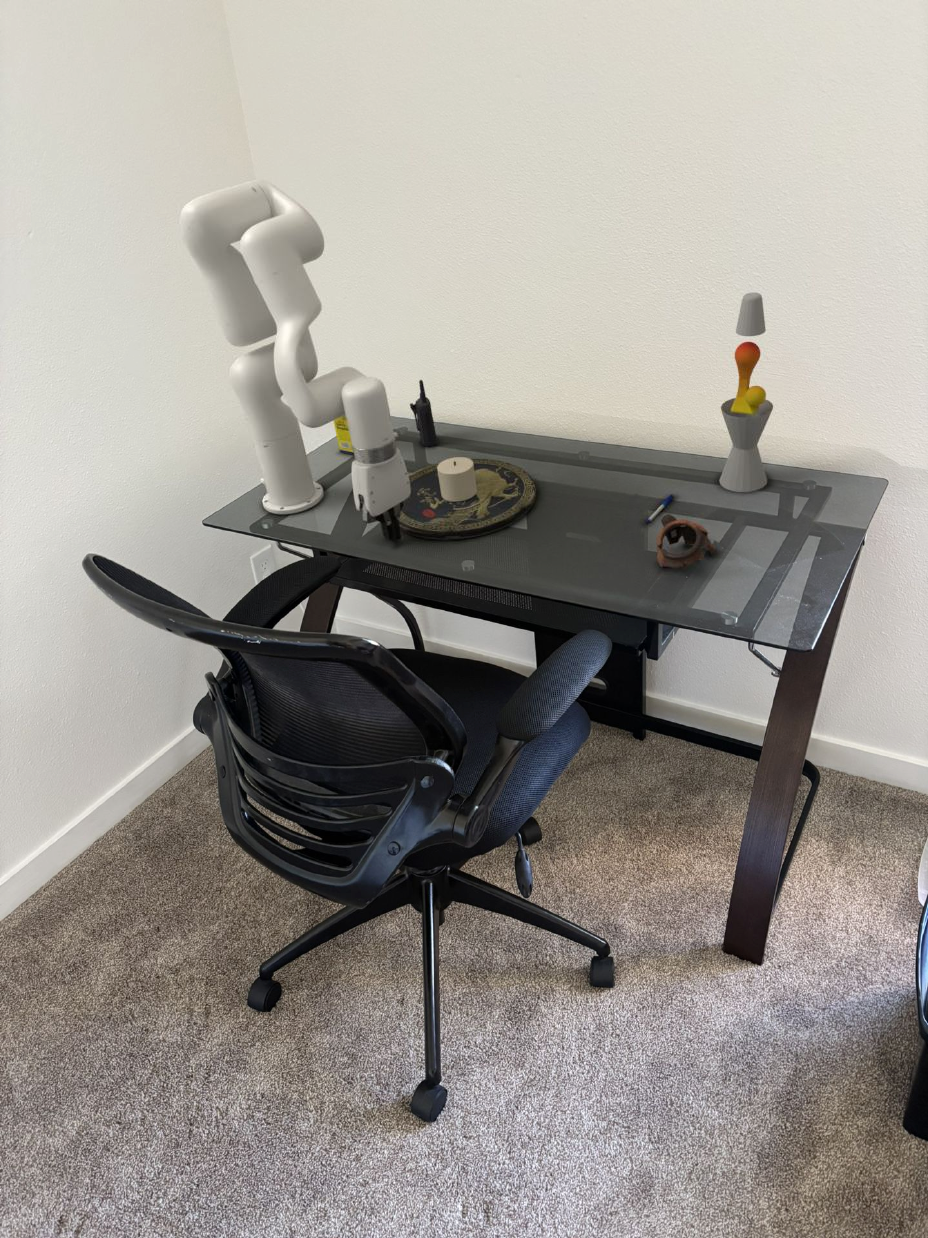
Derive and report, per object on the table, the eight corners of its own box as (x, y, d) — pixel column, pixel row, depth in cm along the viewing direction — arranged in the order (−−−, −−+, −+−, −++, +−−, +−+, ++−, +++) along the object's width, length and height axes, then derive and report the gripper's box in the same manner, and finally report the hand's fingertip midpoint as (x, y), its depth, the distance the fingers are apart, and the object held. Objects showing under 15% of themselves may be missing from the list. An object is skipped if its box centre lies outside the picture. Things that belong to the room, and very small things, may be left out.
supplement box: (360, 456, 207) (350, 410, 201) (339, 452, 210) (329, 407, 204) (376, 445, 211) (367, 399, 205) (356, 441, 214) (346, 396, 208)
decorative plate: (413, 549, 169) (364, 483, 192) (414, 558, 170) (366, 491, 193) (562, 503, 176) (498, 444, 199) (563, 511, 177) (499, 452, 201)
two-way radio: (438, 446, 207) (428, 381, 198) (418, 450, 206) (407, 385, 198) (434, 436, 211) (424, 372, 202) (415, 440, 211) (404, 376, 202)
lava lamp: (711, 487, 177) (716, 301, 157) (728, 466, 183) (735, 284, 162) (758, 495, 172) (770, 305, 152) (775, 473, 178) (788, 287, 158)
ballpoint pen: (669, 497, 176) (669, 492, 176) (674, 497, 176) (674, 493, 175) (645, 524, 170) (645, 519, 169) (650, 525, 169) (649, 520, 169)
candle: (434, 495, 185) (429, 464, 181) (458, 480, 188) (454, 450, 184) (459, 505, 180) (454, 473, 176) (484, 489, 184) (480, 458, 180)
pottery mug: (728, 561, 157) (718, 537, 151) (682, 595, 158) (669, 573, 152) (688, 517, 164) (676, 492, 158) (643, 550, 166) (630, 526, 159)
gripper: (392, 428, 171) (408, 515, 182) (328, 461, 163) (349, 551, 174) (420, 437, 166) (435, 526, 177) (356, 471, 158) (376, 563, 169)
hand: (392, 538), depth 175 cm, fingers closed
